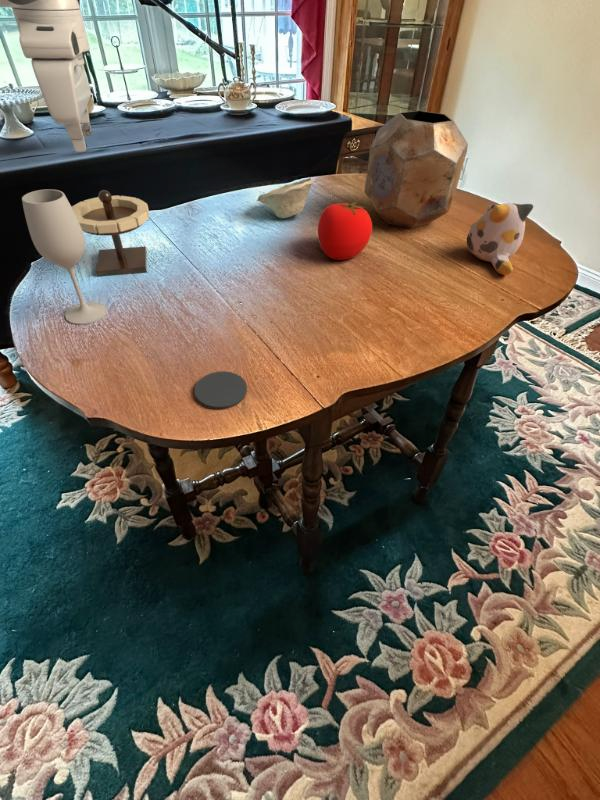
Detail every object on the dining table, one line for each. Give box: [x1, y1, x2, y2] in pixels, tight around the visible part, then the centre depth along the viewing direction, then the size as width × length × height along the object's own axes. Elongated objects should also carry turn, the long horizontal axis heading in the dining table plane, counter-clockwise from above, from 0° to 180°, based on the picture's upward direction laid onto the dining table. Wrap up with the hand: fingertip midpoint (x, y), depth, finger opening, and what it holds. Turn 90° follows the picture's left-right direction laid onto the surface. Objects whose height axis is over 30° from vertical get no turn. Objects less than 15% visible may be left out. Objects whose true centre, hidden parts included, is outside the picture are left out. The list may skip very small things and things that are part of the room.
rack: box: [82, 189, 148, 278], centre depth 89 cm, size 13×13×15 cm
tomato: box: [317, 201, 373, 261], centre depth 98 cm, size 12×14×11 cm
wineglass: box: [21, 188, 108, 326], centre depth 73 cm, size 8×8×21 cm
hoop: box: [71, 195, 150, 234], centre depth 87 cm, size 15×15×2 cm
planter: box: [364, 110, 469, 229], centre depth 110 cm, size 22×24×24 cm
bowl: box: [256, 177, 315, 219], centre depth 113 cm, size 15×14×10 cm
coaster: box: [194, 370, 248, 410], centre depth 67 cm, size 8×8×1 cm
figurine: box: [466, 202, 534, 276], centre depth 97 cm, size 12×17×15 cm
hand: (84, 142), depth 73 cm, fingers open, 8 cm apart
